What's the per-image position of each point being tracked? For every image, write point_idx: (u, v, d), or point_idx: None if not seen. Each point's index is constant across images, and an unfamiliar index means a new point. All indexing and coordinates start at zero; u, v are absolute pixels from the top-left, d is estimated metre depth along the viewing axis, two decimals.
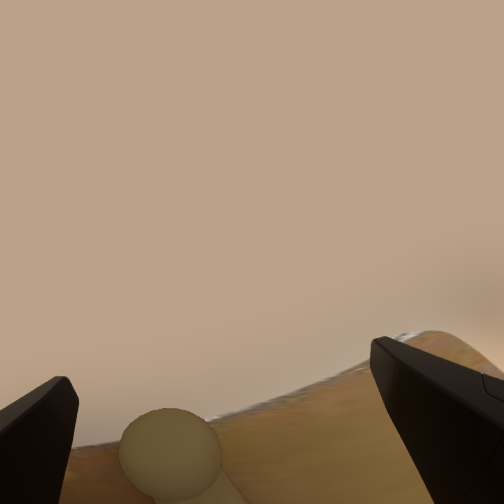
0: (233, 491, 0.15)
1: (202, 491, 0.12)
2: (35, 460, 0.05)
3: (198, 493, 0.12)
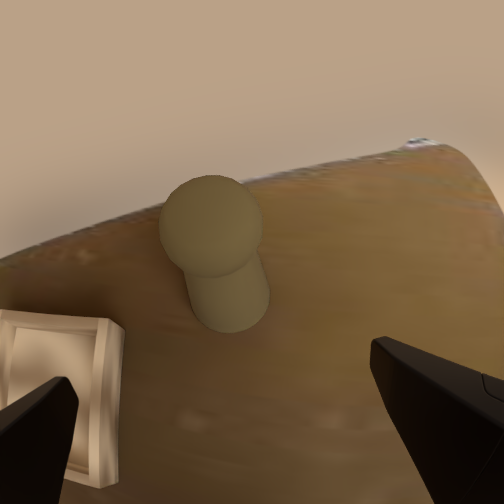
0: (260, 265, 0.20)
1: (242, 266, 0.16)
2: (35, 460, 0.05)
3: (238, 268, 0.16)
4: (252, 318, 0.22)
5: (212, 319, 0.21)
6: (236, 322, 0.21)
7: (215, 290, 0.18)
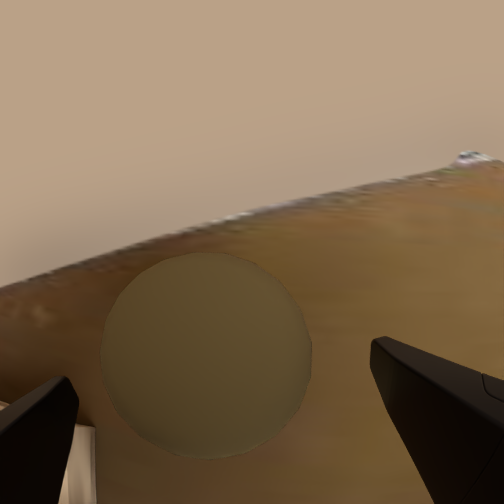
0: None
1: None
2: (35, 460, 0.05)
3: None
4: None
5: None
6: None
7: None
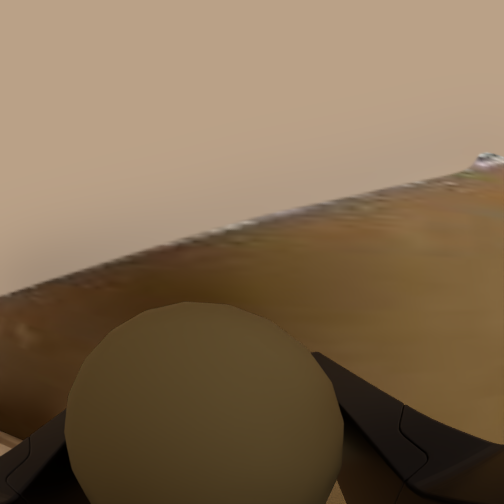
0: None
1: None
2: None
3: None
4: None
5: None
6: None
7: None
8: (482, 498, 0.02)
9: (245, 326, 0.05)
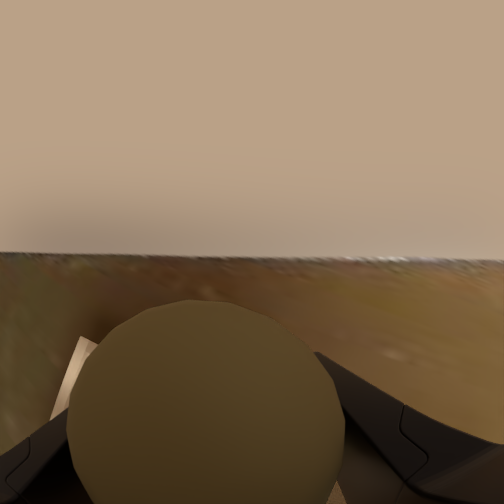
0: None
1: None
2: None
3: None
4: None
5: None
6: None
7: None
8: (482, 498, 0.02)
9: (246, 324, 0.05)
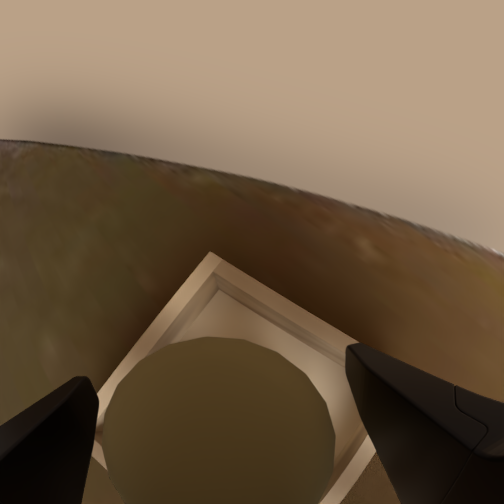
0: None
1: None
2: (57, 464, 0.05)
3: None
4: None
5: None
6: None
7: None
8: None
9: (256, 362, 0.06)
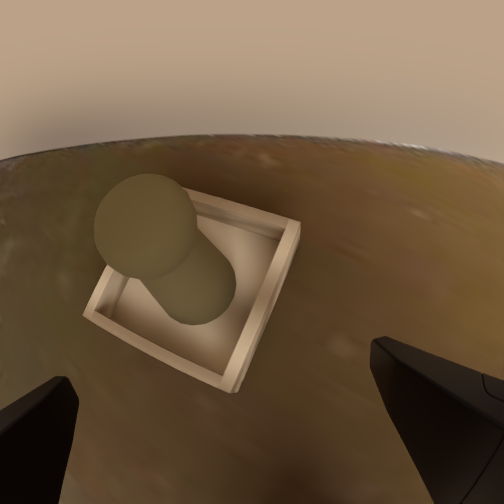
0: (212, 251, 0.19)
1: (183, 260, 0.15)
2: (35, 460, 0.05)
3: (179, 263, 0.15)
4: (220, 305, 0.21)
5: (180, 315, 0.21)
6: (204, 313, 0.21)
7: (168, 288, 0.17)
8: None
9: (150, 174, 0.15)
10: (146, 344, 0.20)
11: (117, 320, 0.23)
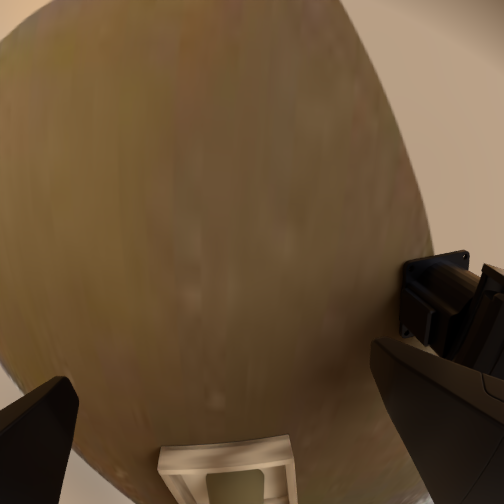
0: None
1: None
2: (35, 460, 0.05)
3: None
4: (240, 473, 0.25)
5: (261, 487, 0.25)
6: (251, 479, 0.25)
7: None
8: None
9: None
10: (291, 491, 0.25)
11: (286, 492, 0.28)
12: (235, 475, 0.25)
